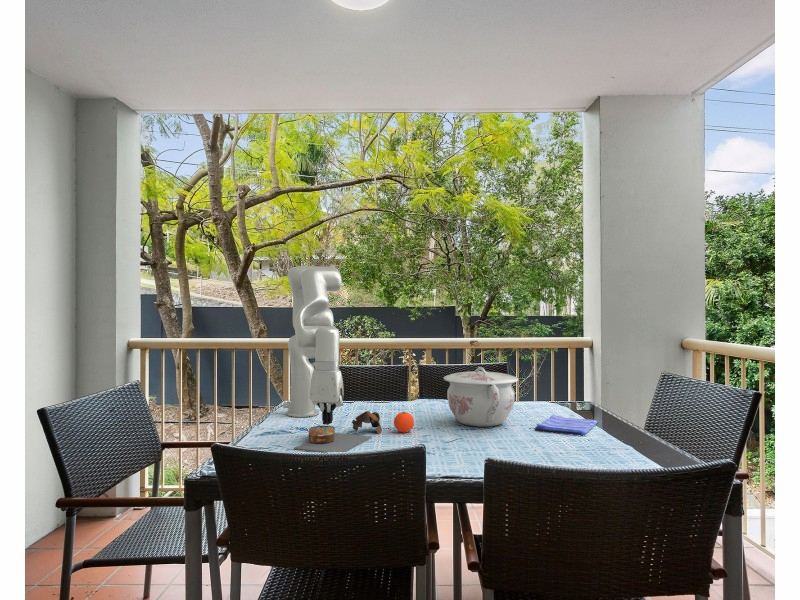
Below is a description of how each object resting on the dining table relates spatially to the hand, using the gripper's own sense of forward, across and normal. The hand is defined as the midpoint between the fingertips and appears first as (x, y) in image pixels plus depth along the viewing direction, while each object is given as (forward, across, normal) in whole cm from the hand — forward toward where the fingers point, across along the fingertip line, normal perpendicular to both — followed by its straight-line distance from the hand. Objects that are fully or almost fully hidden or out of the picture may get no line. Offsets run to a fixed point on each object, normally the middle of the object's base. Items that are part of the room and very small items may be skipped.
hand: (327, 423), depth 186 cm
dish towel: (+7, +68, +52) cm, 86 cm away
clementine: (+6, +17, +23) cm, 29 cm away
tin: (+5, -7, 0) cm, 9 cm away
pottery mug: (+6, +6, +19) cm, 21 cm away
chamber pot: (+6, +38, +46) cm, 60 cm away
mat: (+6, +2, 0) cm, 7 cm away
